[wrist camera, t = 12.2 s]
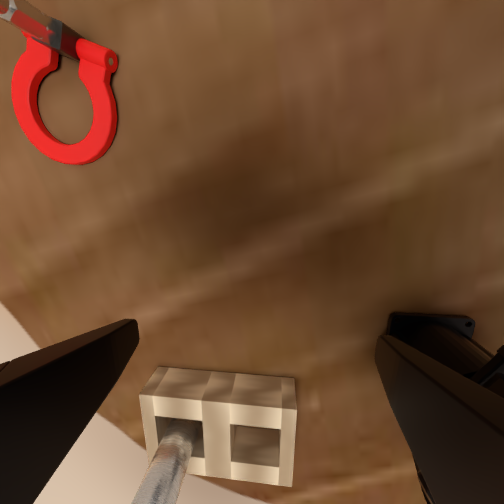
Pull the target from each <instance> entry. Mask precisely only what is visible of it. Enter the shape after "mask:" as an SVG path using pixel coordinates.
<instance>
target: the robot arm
mask: <svg viewBox="0 0 504 504" xmlns="http://www.w3.org/2000/svg"><path fill="white" fill-rule="evenodd" d="M396 318H398V320H395V319H396ZM466 322H468V323H467V324H466ZM474 327H475V321H474V320H473V319H471V318H470V317H467V316H451V315H433V314H414V313H393V314H391V315H390V317H389V323H388V329H387V335H386V336H384V335H380V336H379V337H378V339H377V344H376V350H375V363H376V366H377V369H378V371H379V374H380V377H381V380H382V383H383V386H384V389H385V392H386V395H387V398H388V400H389V403H390V406H391V408H392V410H393V413H394V415H395V417H396V419H397V421H398V423H399V426H400V428H401V430H402V432H403V434H404V436H405V439H406V441H407V443H408V445H409V447H410V449H411V452H412V455H413V459H414V462H415V466H416V470H417V474H418V479H419V482H420V485H421V488H422V492H423V494H424V497H425V500H426V502H427V504H504V345H502V346H501V347H500V348H499V349H498V350H497V352H498V353H497V354H496V355H495V356H494V355H493V354H491V353H490V352H489V351H487V350H486V349H485V348H483V347H482V346H481V345H479V344H478V343H477V342H475V341H474V340H473V339H471V338H472V335H473V331H474ZM138 343H139V331H138V323H137V321H136V320H135V319H123V320H120V321H118V322H115V323H112V324H109V325H107V326H104V327H101V328H98V329H96V330H93V331H90V332H87V333H84V334H82V335H79V336H76V337H73V338H71V339H68V340H65V341H62V342H60V343H57V344H54V345H51V346H49V347H46V348H43V349H40V350H38V351H35V352H32V353H29V354H27V355H24V356H21V357H18V358H16V359H13V360H12V361H11V362H10V361H8V362H5V363H2V364H0V504H33V503H34V501H35V500H36V498H37V497H38V496H39V494H40V493H41V491H42V490H43V488H44V487H45V485H46V484H47V482H48V481H49V479H50V478H51V477H52V475H53V474H54V472H55V471H56V469H57V468H58V467H59V465H60V464H61V462H62V461H63V459H64V458H65V456H66V455H67V454H68V452H69V450H70V449H71V448H72V446H73V444H74V443H75V442H76V440H77V439H78V437H79V436H80V435H81V433H82V432H83V430H84V429H85V427H86V426H87V425H88V423H89V422H90V420H91V419H92V417H93V416H94V414H95V413H96V411H97V410H98V409H99V407H100V406H101V404H102V403H103V401H104V400H105V398H106V397H107V395H108V394H109V393H110V391H111V390H112V388H113V387H114V385H115V384H116V382H117V381H118V379H119V377H120V376H121V374H122V372H123V370H124V369H125V367H126V365H127V363H128V362H129V360H130V358H131V356H132V354H133V353H134V351H135V349H136V347H137V346H138Z"/></svg>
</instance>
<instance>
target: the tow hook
mask: <svg viewBox="0 0 504 504" xmlns="http://www.w3.org/2000/svg"><path fill="white" fill-rule="evenodd" d="M0 18H1V19H3V20H4V21H6V22H8V23H10V24H11V25H13V26H15V27H17V28H18V29H20V30H21V31H22V33H23V35H24V36H25V37H26V38H27V50H26V51H25V52H24V53H23V54H22V55H21V57H20V59H19V60H18V62H17V64H16V66H15V69H14V73H13V77H12V101H13V106H14V110H15V114H16V116H17V119H18V121H19V124H20V126H21V128H22V130H23V131H24V133H25V134H26V136H27V137H28V139H29V140H30V142H31V143H32V144H33V145H34V146H35V147H36V148H37V149H38V150H39V151H40V152H42V153H43V154H45V155H46V156H48V157H49V158H51V159H53V160H55V161H58V162H61V163H64V164H77V165H83V164H87V163H91V162H94V161H95V160H97V159H98V158H100V157H101V156H103V155H104V153H105V152H106V151H107V149H108V148H109V147H110V146H111V143H112V140H113V138H114V135H115V132H116V124H117V112H116V102H115V99H114V96H113V93H112V90H111V87H110V85H109V84H110V77H111V73H114V72H115V71H116V69H117V66H118V60H117V56H116V54H115V53H114V51H112V50H110V49H108V48H105V47H103V46H100V45H98V44H95V43H93V42H90V41H88V40H86V39H85V38H84V37H82V36H81V35H79V34H78V33H77V32H75V31H74V30H72V29H71V28H70V27H68V26H67V25H65V24H64V23H63V22H61V21H59V20H56V19H54V18H51V17H49V16H47V15H46V14H44V13H42V12H41V11H40V10H39V9H37V8H36V7H34V6H33V5H31V4H30V3H28V2H27V1H26V0H0ZM59 54H61V55H63V56H66V57H68V58H71V59H73V60H76V61H78V62H80V64H79V73H78V75H79V77H80V79H81V80H82V82H83V83H84V85H85V86H86V88H87V90H88V91H89V94H90V97H91V100H92V103H93V111H94V116H93V124H92V127H91V129H90V132H89V133H88V135H87V136H86V137H85V139H83V140H82V141H80V142H79V143H76V144H72V145H67V144H64V143H61V142H60V141H58V140H57V139H55V138H54V137H53V136H52V135H51V134H50V133H49V132H48V131H47V129H46V127H45V126H44V124H43V123H42V121H41V118H40V115H39V113H38V108H37V91H38V87H39V84H40V82H41V80H42V79H43V77H44V76H45V75H46V74H48V73H49V72H50V71H53V70H56V68H57V67H58V56H59Z"/></svg>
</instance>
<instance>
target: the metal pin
mask: <svg viewBox="0 0 504 504" xmlns="http://www.w3.org/2000/svg"><path fill="white" fill-rule="evenodd" d="M201 425H202V421H199V420H190V419H180V418H171V420H170V423H169V425H168V427H167V429H166V431H165V433H164V435H163V437H162V440H161V442H160V444H159V446H158V448H157V450H156V452H155V455H154V457H153V459H152V461H151V463H150V465H149V468H148V470H147V472H146V474H145V476H144V478H143V481H142V483H141V485H140V487H139V489H138V491H137V493H136V495H135V497H134V500H133V502H132V504H176V501H177V498H178V495H179V492H180V489H181V486H182V483H183V480H184V477H185V474H186V471H187V468H188V464H189V461H190V458H191V455H192V452H193V449H194V446H195V443H196V440H197V437H198V434H199V431H200V428H201Z"/></svg>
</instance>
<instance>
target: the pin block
mask: <svg viewBox="0 0 504 504" xmlns="http://www.w3.org/2000/svg"><path fill="white" fill-rule="evenodd" d="M139 398H140V405H141V412H142V420H143V427H144V434H145V441H146V448H147V455H148V462H149V465H150V463H151V461H152V459H153V457H154V455H155V452H156V450H157V448H158V446H159V444H160V442H161V440H162V437H163V435H164V433H165V431H166V429H167V427H168V425H169V423H170V420H171V418H180V419H190V420H199V421H202V425H201V428H200V431H199V434H198V437H197V440H196V443H195V446H194V449H193V452H192V455H191V458H190V461H189V464H188V468H187V471H186V473H188V474H196V475H204V476H211V477H219V478H227V479H234V480H242V481H250V482H257V483H265V484H273V485H280V486H288V487H292V477H293V462H294V447H295V432H296V417H297V405H296V393H295V382H294V378H288V377H276V376H264V375H252V374H240V373H228V372H216V371H205V370H193V369H181V368H169V367H157V369H156V370H155V372H154V373H153V375H152V376H151V378H150V379H149V381H148V382H147V383H146V385H145V386H144V388H143V389H142V391H141V392H140V394H139ZM237 425H246V426H255V427H265V428H274V429H279V430H272V429H263V428H254V427H244V426H237Z"/></svg>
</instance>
